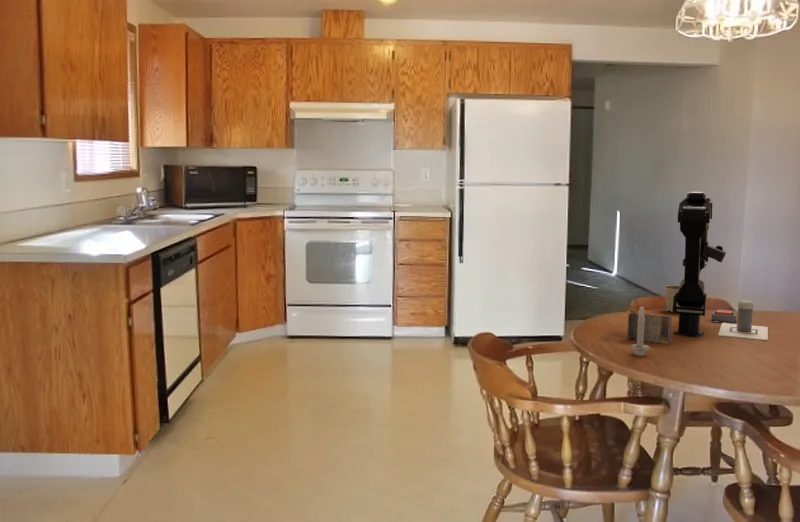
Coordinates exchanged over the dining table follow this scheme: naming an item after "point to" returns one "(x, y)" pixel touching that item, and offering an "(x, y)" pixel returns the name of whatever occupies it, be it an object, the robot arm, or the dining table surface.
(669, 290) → the flower pot
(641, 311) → the screw
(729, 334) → the paper sheet
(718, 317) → the button housing
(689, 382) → the dining table surface
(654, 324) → the bent metal bracket
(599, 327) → the dining table surface
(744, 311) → the grey cylinder
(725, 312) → the button
